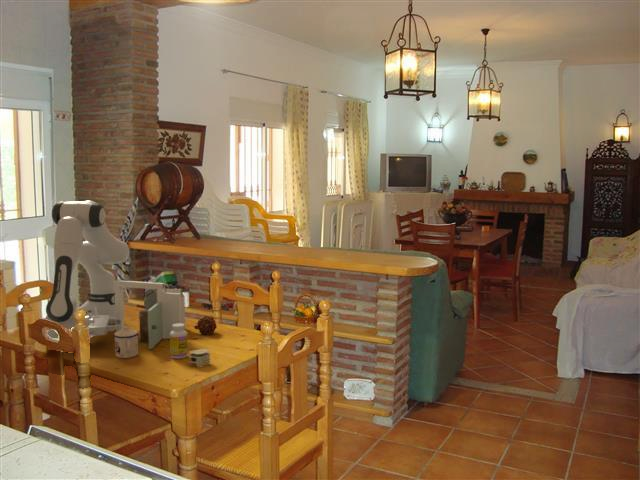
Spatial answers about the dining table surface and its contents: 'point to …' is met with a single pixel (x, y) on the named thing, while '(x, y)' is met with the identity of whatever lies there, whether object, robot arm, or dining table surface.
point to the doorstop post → (143, 326)
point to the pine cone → (206, 325)
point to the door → (155, 324)
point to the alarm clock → (150, 298)
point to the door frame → (168, 300)
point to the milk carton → (181, 302)
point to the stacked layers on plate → (200, 357)
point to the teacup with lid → (126, 343)
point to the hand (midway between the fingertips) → (120, 324)
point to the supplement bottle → (178, 341)
